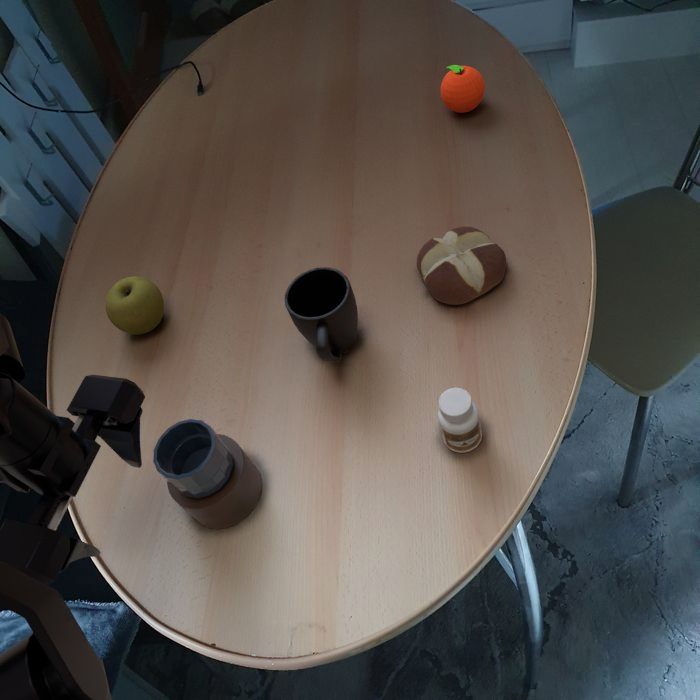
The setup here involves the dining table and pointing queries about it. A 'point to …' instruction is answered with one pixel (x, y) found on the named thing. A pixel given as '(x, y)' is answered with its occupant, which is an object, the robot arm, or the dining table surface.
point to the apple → (135, 305)
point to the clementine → (462, 88)
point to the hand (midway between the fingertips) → (117, 508)
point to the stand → (226, 493)
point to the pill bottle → (459, 420)
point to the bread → (461, 265)
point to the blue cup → (193, 458)
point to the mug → (324, 311)
